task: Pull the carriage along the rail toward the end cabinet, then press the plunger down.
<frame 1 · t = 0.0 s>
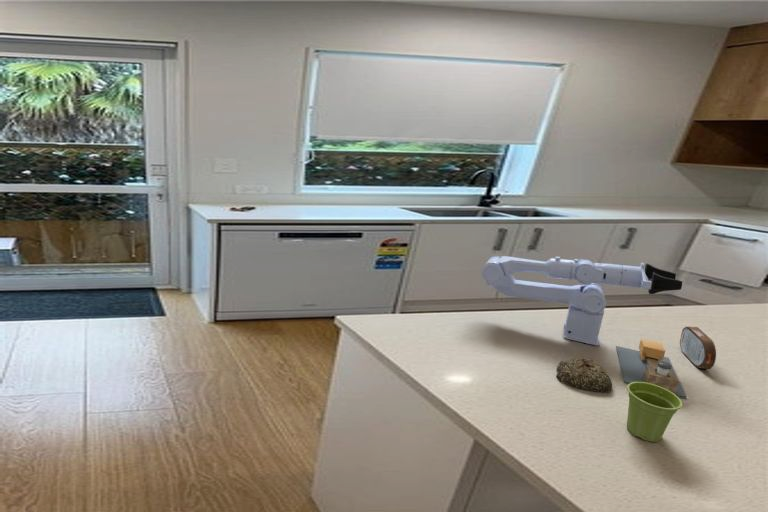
hand: (678, 281, 119), 22 cm above the counter, tool horizontal, fingers open, 7 cm apart
tin: (692, 361, 123), on the counter
plunger: (662, 371, 106), point 4 cm above the counter, slide at 0.0 cm
base mat: (647, 370, 115), on the counter
plant pot: (642, 432, 90), on the counter
carriage: (650, 351, 119), point 3 cm above the counter, slide at 0.0 cm
rail: (650, 368, 116), resting on base mat
brown rock: (581, 379, 109), on the counter
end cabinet: (657, 387, 107), resting on base mat
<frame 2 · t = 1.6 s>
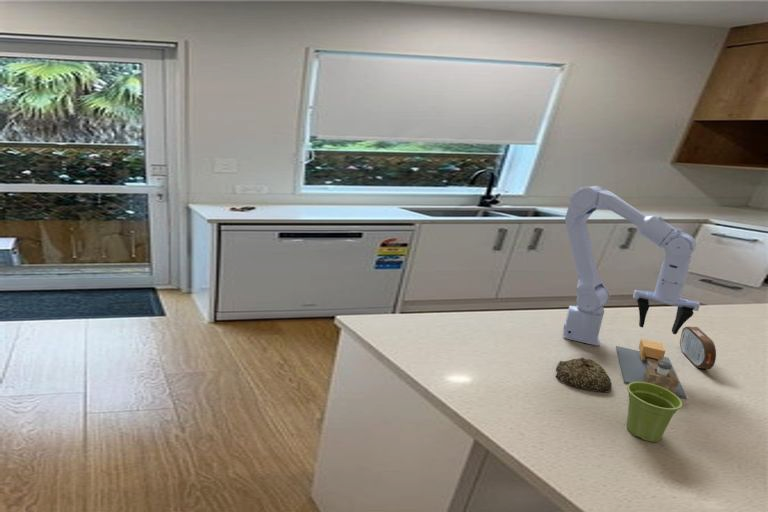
hand: (657, 329, 118), 9 cm above the counter, tool pointing down, fingers open, 7 cm apart
nothing on the counter moved.
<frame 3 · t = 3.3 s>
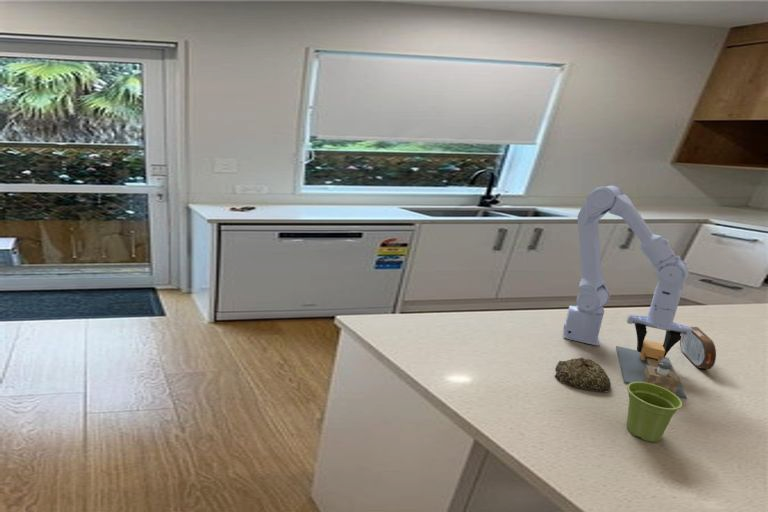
hand: (650, 353, 120), 2 cm above the counter, tool pointing down, fingers closed on carriage, 5 cm apart
carriage: (650, 351, 119), point 3 cm above the counter, slide at 0.0 cm, touching gripper
everything else where it was.
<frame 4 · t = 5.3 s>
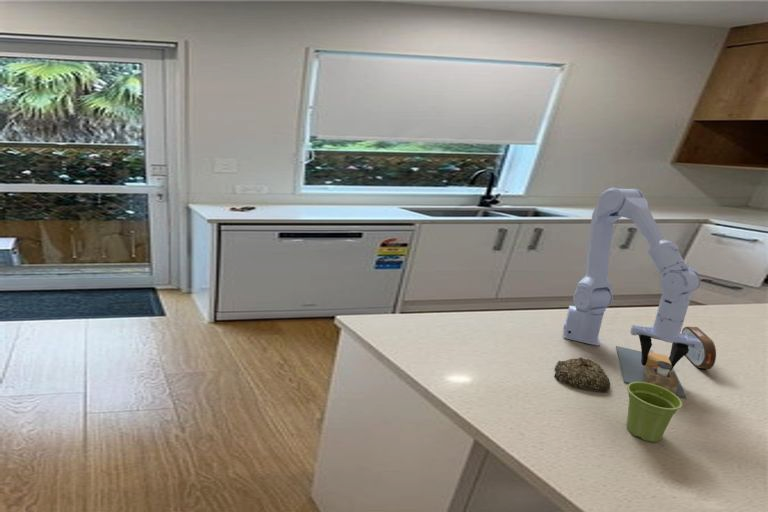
hand: (655, 366, 112), 2 cm above the counter, tool pointing down, fingers closed on carriage, 5 cm apart
carriage: (656, 364, 112), point 3 cm above the counter, slide at 7.8 cm, touching gripper
everything else where it was.
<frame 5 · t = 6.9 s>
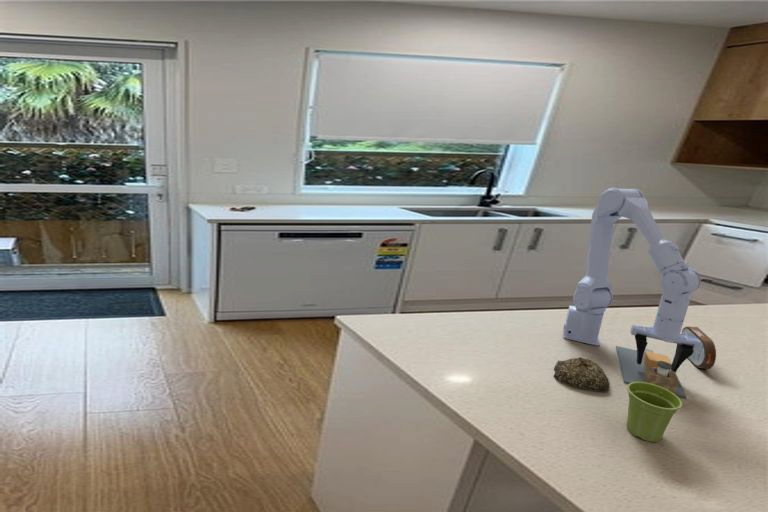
hand: (655, 366, 112), 2 cm above the counter, tool pointing down, fingers open, 7 cm apart
carriage: (656, 364, 112), point 3 cm above the counter, slide at 7.8 cm
everything else where it was.
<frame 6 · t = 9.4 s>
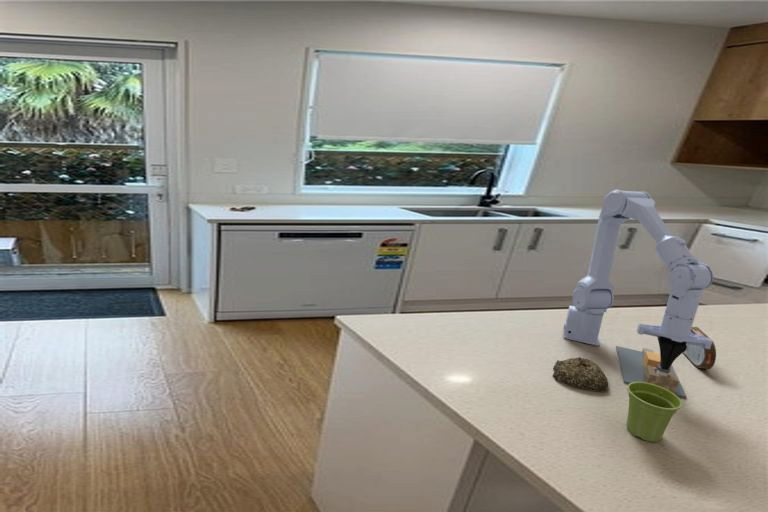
hand: (663, 367, 106), 5 cm above the counter, tool pointing down, fingers closed, pressing on plunger
plunger: (661, 375, 106), point 3 cm above the counter, slide at 0.9 cm, touching gripper
everything else where it was.
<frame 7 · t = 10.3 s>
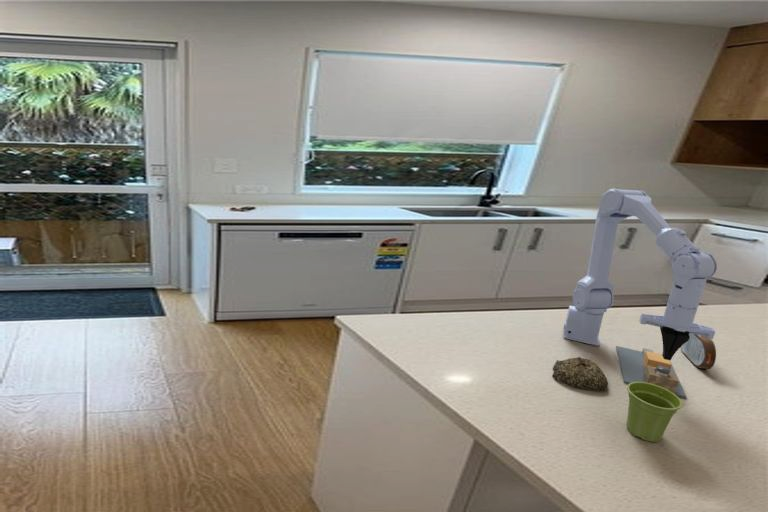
hand: (666, 358, 105), 8 cm above the counter, tool pointing down, fingers closed
plunger: (661, 376, 106), point 3 cm above the counter, slide at 1.2 cm
everything else where it was.
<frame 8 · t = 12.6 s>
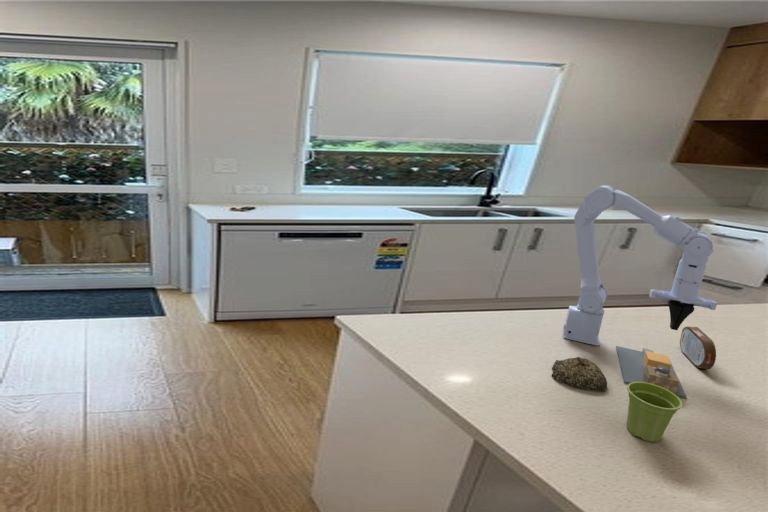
hand: (673, 328, 118), 10 cm above the counter, tool pointing down, fingers closed
at the end: carriage slide at 7.8 cm; plunger slide at 1.2 cm; the gripper is holding nothing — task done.
